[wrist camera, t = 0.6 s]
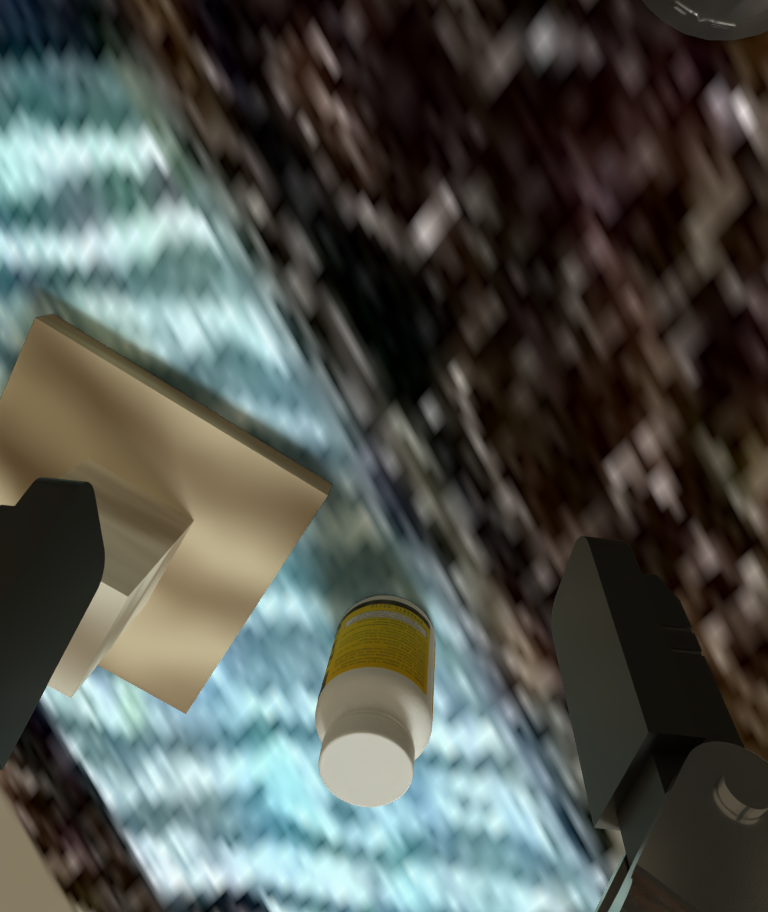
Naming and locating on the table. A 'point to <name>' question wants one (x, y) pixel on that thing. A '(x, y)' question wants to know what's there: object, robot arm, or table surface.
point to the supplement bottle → (376, 701)
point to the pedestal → (152, 508)
